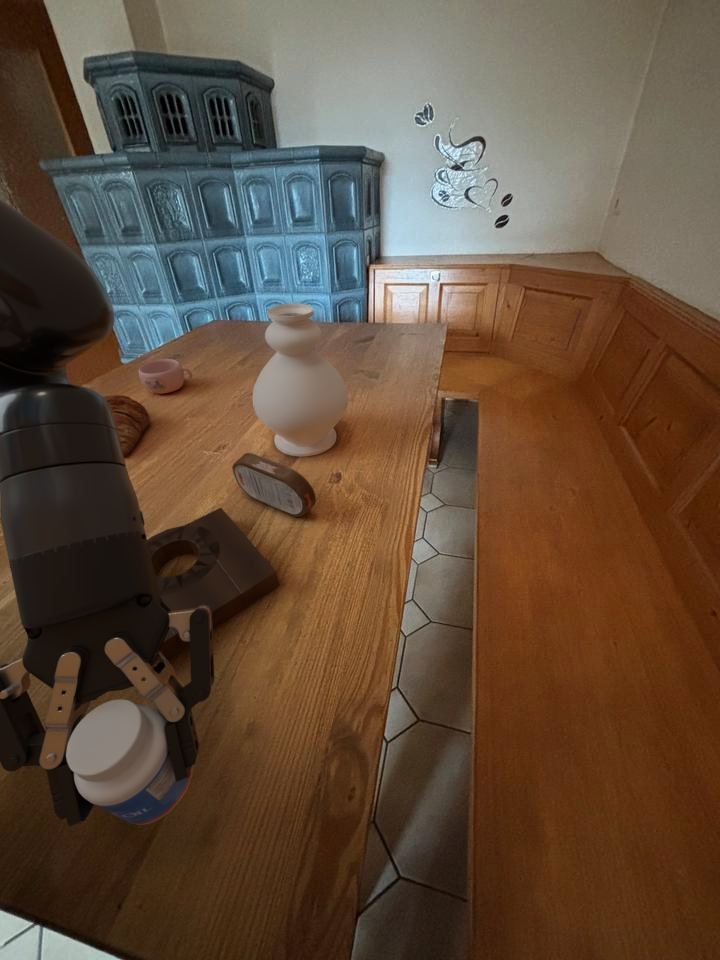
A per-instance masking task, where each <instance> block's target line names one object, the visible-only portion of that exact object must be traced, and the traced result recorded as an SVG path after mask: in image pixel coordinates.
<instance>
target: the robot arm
mask: <svg viewBox="0 0 720 960" xmlns="http://www.w3.org/2000/svg"><path fill="white" fill-rule="evenodd" d="M114 324H115V310H114V306H113V303H112V300H111V298H110V295H109V293H108V291H107V289H106V287H105V286H104V284H103V283H102V281H101V280H100V278H99V277H98V275H97V274H96V273H95V271H94V270H93V269H92V268H91V267H90V265H89V264H88V263H86V261H85V260H84V259H83V258H81V257H80V255H78V254H77V253H76V252H75V251H73V250H72V248H70V247H69V246H68V245H66V244H65V243H63V242H62V241H61V240H60V239H58V238H57V237H55V235H53V234H52V233H50V232H48V231H47V230H46V229H44V228H42V227H41V226H40V225H38V224H37V223H35V222H34V221H33V220H31V219H30V218H28V217H27V216H26V215H24V214H23V213H21V212H20V211H18V210H17V209H16V208H15V207H13V206H11V205H10V204H8V203H7V202H6V201H4V200H3V199H2V198H0V522H1V529H2V534H3V539H4V544H5V549H6V553H7V558H8V563H9V568H10V573H11V579H12V583H13V589H14V592H15V597H16V602H17V608H18V612H19V618H20V622H21V626H22V627H23V630H24V631H25V633H26V637H27V639H26V640H27V641H26V647H25V649H24V652H23V654H22V657H21V658H19V659H17V660H16V661H12V662H11V663H4V664H1V665H0V764H1V766H2V768H3V770H4V771H7V772H17V771H19V770H20V769H21V768H23V767H34V766H35V767H36V766H37V767H40V768H42V769H43V770H45V773H46V776H47V781H48V785H49V789H50V795H51V800H52V803H53V805H52V806H53V810H54V814H55V815H56V816H57V818H58V819H59V820H60V821H61V820H64V819H66V823H67V825H68V827H69V828H71V827H74V826H76V825H78V824H80V823H83V822H85V821H86V819H87V818H88V816H89V814H90V813H91V811H92V809H93V807H94V806H95V805H94V804H92V803H91V802H89V801H88V800H86V799H85V798H84V797H83V796H82V795H81V794H80V793H79V791H78V789H77V787H76V784H75V781H74V772H73V771H72V770H71V769H70V767H69V765H68V763H67V759H66V751H67V745H68V742H69V739H70V737H71V735H72V733H73V731H74V730H75V728H76V726H77V725H78V724H79V723H80V721H81V720H82V719H83V718H84V717H85V716H86V715H87V711H88V709H89V707H90V705H91V702H92V701H95V700H96V699H98V698H100V697H102V696H103V695H105V694H106V693H108V692H118V691H119V692H120V691H125V690H127V689H129V688H132V687H135V689H136V690H137V691H138V692H139V693H140V695H141V696H142V697H143V698H144V699H145V700H149V701H151V702H152V703H153V705H154V706H155V708H156V709H157V710H158V711H160V712H161V713H162V715H163V716H164V717H165V718H166V719H167V722H166V724H165V726H164V731H165V735H166V740H167V744H168V749H169V753H170V758H171V762H172V767H173V771H174V775H175V779H176V781H177V782H178V781H181V780H183V779H185V778H188V777H189V775H190V771H191V768H192V765H193V766H195V765H196V761H197V758H198V755H199V750H200V740H199V737H198V732H197V729H196V723H195V719H194V716H193V714H194V713H193V711H192V709H193V708H194V707H195V706H196V705H198V704H199V703H202V702H204V701H206V700H207V699H208V698H209V697H210V695H211V693H212V687H213V685H214V682H215V658H214V657H215V654H214V652H215V651H214V629H213V619H212V608H211V606H210V605H208V604H201V605H199V606H198V607H197V608H192V609H184V610H176V611H171V610H170V609H169V607H168V606H166V605H165V604H164V602H163V601H162V599H161V598H160V595H159V591H158V586H157V582H156V577H155V573H154V569H153V564H152V560H151V555H150V551H149V547H148V542H147V540H148V537H147V535H146V530H145V524H146V523H145V518H144V514H143V512H142V510H141V508H140V504H139V503H140V502H139V500H138V496H137V493H136V491H135V488H134V485H133V484H132V481H131V478H130V476H129V471H128V468H127V464H126V460H125V459H126V458H125V456H124V455H123V450H122V446H121V441H120V437H119V433H118V429H117V425H116V421H115V418H114V415H113V412H112V409H111V407H110V405H109V403H108V402H107V401H106V400H105V398H104V397H105V396H103V395H102V394H99V393H98V392H97V391H96V390H93V389H91V388H88V387H85V386H83V385H82V386H81V385H77V384H71V382H70V380H69V376H68V369H67V368H68V364H69V363H71V362H72V361H74V360H75V359H77V358H78V357H80V356H81V355H84V353H86V352H88V351H89V350H91V349H93V348H94V347H96V346H97V345H99V344H100V343H102V342H103V341H104V340H105V339H106V338H107V337H108V336H109V335H110V333H111V332H112V330H113V328H114ZM170 627H173V628H175V629H177V630H178V632H179V636H180V638H181V639H182V640H183V641H185V642H190V644H189V658H190V659H189V660H190V681H189V682H188V683H187V684H184V682H183V681H182V680H181V679H180V678H179V676H178V675H177V674H176V672H175V669H174V665H172V663H171V662H170V661H169V660H168V659H166V657H165V656H164V655H163V654H162V653H161V651H160V648H161V646H162V644H163V642H164V640H165V637H166V635H167V633H168V631H169V628H170ZM156 663H157V664H156ZM31 675H32V676H33V677H34V678H36V679H37V680H39V681H40V682H42V683H43V684H45V685H46V686H48V687H49V688H51V689H52V692H51V695H50V696H51V697H50V700H49V704H48V705H49V706H48V708H47V712H46V717H45V721H44V726H43V723H42V721H41V719H40V716H39V714H38V712H37V710H36V708H35V704H34V702H33V701H32V699H31V697H30V695H29V693H28V690H29V688H30V687H31V678H30V676H31ZM45 729H46V730H45Z"/></svg>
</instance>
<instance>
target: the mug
mask: <svg viewBox="0 0 720 960" xmlns="http://www.w3.org/2000/svg"><path fill="white" fill-rule="evenodd" d="M185 372H187V373H188V377H186V376H185ZM137 373H138V376H139V377H138V378H139V379H140V382H141V384H142V385H143V386H144V387H145V388H146V389H147V390H148V391H149V392H151V393H154V394H168V393H172V392H175V391H178V390H179V389H181V388H182V386H183V385H184V382H185V381H187V382H188V381H191V380H192V379H193V373H192V371H191V369H189V368H188V367H183V366H182V364H181V362H180V361H178V360H176V359H173V358H172V359H171V358H161V359H155V360H151V361H148V362H145V363H143V364H142V365H141V366H139V368H138V372H137Z"/></svg>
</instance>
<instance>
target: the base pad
mask: <svg viewBox="0 0 720 960" xmlns="http://www.w3.org/2000/svg"><path fill="white" fill-rule="evenodd" d="M147 542H148V547H149V551H150V555H151V560H152V564H153V569H154V573H155V577H156V582H157V586H158V591H159V595H160V598H161V599H162V601H163V602H164V604H165V605H166V606H168V607H169V609H170V610H171V611H176V610H184V609H192V608H197V607H198V606H199V605H201V604H208V605H210V606H211V608H212V619H213V630H214V629H216V628H217V627H219V626H220V625H222V624H224V622H227V620H228V621H229V620H230V619H231V618H233V617H234V616H236V615H237V614H239V613H240V612H241V611H243V610H244V609H246V608H247V607H249V606H251V605H252V604H254V603H256V602H257V601H258V600H259V599H261V598H263V597H264V596H266V595H267V594H269V593H270V592H272V591H273V590H275V589H276V588H278V587H280V581H279V577H278V572H277V570H276V569H275V568H274V567H273V566H272V565H271V563H270V562H269V561H268V560H267V559H266V558H265V557H264V556H263V554H262V553H261V552H260V550H258V548H256V546H255V544H253V543H252V542H251V540H250V539H249V538H248V537H247V536H246V535H245V534H244V532H243V531H242V530H241V529H240V528H239V527H238V525H237V524H236V523H235V522H234V520H232V519H231V517H230V516H229V515H228V514H227V513H226V511H225V510H224V509H223V508H222V507H219V508H217V509H214V510H213V511H211V512H209V513H207V514H205V515H203V516H200V517H199V518H196V519H194V520H192V521H190V522H188V523H186V524H184V525H180V526H176V527H171V528H167V529H165V530H163V531H161V532H159V533H156V534H155V535H153V536H150V537H148V538H147ZM183 555H196V556H197V558H196V560H195V562H194V563H193V564H191V566H190V567H189V568H188V569H186V570H185V571H183V572H180V573H179V574H177V575H172V576H168V577H167V576H158V573H159V572H160V570H161V568H162V567H163V566H164V565H165V564H166V563H168V561H170V560H172V559H174V558H176V557H178V556H183ZM187 646H190V642H185V641H183V640H182V639H181V638H180V636H179V632H178V630H177V629H175V628H173V627H170V628H169V631H168V633H167V635H166V637H165V640H164V642H163V644H162V646H161V648H160V651H161V653H162V654H163V655H164V656H165V657H166V659H167V660H168V659H170V658H171V657H173V656H174V655H176V654H177V653H179V652H180V651H182V650H183V649H185V648H186V647H187ZM156 664H157V663H156Z"/></svg>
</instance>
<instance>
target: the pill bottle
mask: <svg viewBox="0 0 720 960" xmlns="http://www.w3.org/2000/svg"><path fill="white" fill-rule="evenodd" d="M166 722H167V719H166V718H165V717H164V716H163V714H162V713H161V712H160V711H159V709H158V708H157V707H154V706H152V705H149V704H144V703H134V702H133V701H131V700H129V699H128V700H127V699H124V698H123V699H122V698H119V699H112V700H109V701H106V702H104V703H101V704H100V705H97V706H96V707H94V708H93V709H92V710H90V712H88V713H86V714H85V717H84V718H83V719H82V720H81V721H80V723H79V724H78V725H77V726H76V728H75V730H74V731H73V733H72V735H71V737H70V739H69V742H68V745H67V751H66V759H67V763H68V765H69V767H70V769H71V770H72V771H73V772H74V781H75V784H76V787H77V789H78V791H79V793H80V794H81V795H82V796H83V797H84V798H85V799H86V800H88V801H89V802H91V803H92V804H94V806H96V807H98V808H101V809H102V810H104V811H107V812H109V813H110V814H112V815H114V816H116V817H117V818H119V819H121V820H123V821H125V822H127V823H129V824H132V825H139V826H141V825H148V824H152V823H154V822H156V821H159V820H160V819H163V817H165V816H166V815H168V814H169V813H170V812H171V811H172V810H173V809H174V808H175V807H176V806H177V805H178V803H179V802H180V801H181V799H182V798H183V797H184V795H185V793H186V792H187V790H188V788H189V786H190V783H191V781H192V780H191V779H192V776H193V771H194V765H192V768H191V771H190V775H189V777H188V778H185V779H183V780H181V781H178V782H177V781H176V779H175V775H174V771H173V767H172V762H171V758H170V753H169V749H168V744H167V740H166V735H165V731H164V726H165V724H166Z"/></svg>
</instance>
